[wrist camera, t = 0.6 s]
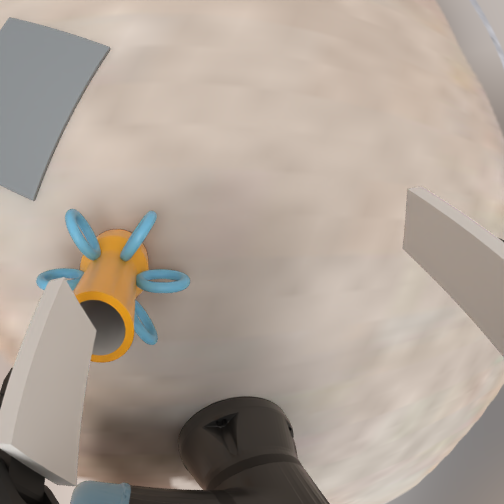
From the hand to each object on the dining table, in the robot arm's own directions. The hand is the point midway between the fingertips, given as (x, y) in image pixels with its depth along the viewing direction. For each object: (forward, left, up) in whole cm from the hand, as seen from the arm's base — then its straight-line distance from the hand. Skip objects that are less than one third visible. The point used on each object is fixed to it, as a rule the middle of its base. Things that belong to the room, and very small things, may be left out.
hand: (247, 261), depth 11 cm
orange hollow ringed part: (-6, +4, -20) cm, 21 cm away
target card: (+4, +21, -20) cm, 29 cm away
